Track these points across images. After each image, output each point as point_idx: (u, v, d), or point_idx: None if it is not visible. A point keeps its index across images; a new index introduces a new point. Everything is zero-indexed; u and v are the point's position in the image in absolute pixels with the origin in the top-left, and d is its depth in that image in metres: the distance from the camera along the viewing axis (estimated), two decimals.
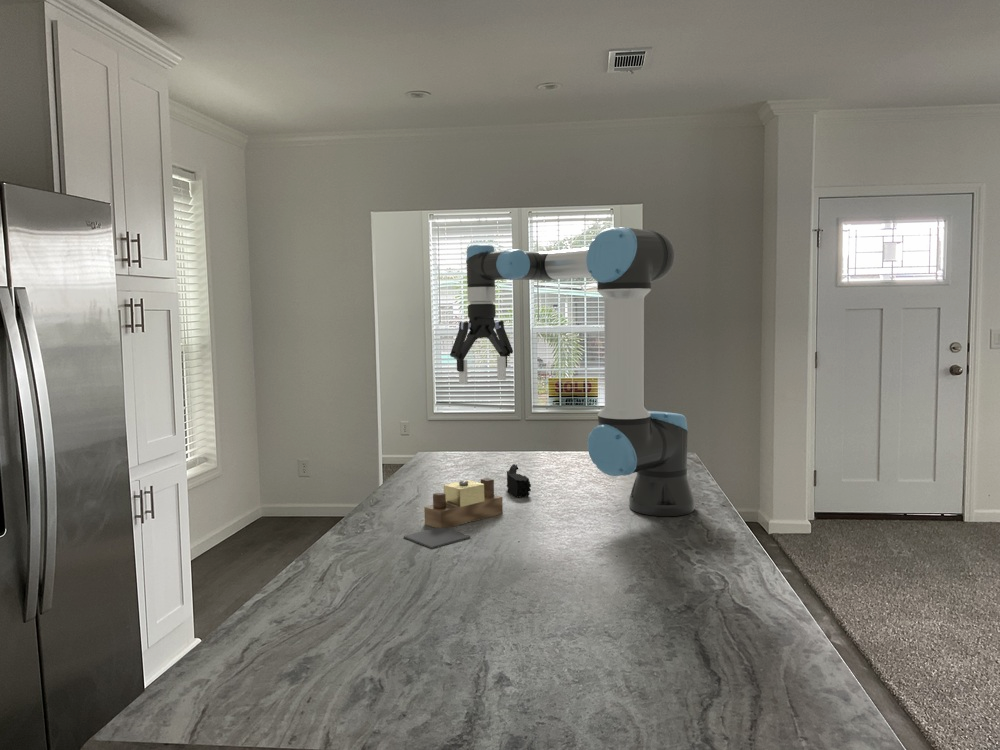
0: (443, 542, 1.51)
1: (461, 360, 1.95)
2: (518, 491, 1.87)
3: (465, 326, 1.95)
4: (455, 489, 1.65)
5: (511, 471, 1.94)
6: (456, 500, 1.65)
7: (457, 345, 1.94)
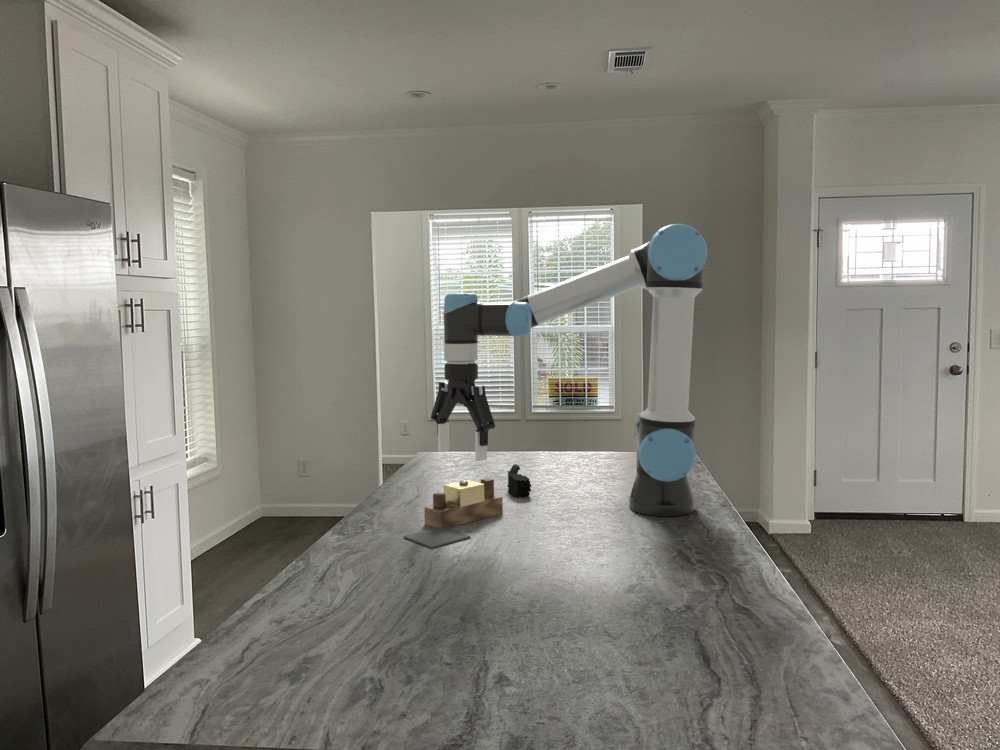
0: (443, 542, 1.51)
1: (438, 424, 1.73)
2: (518, 491, 1.87)
3: (439, 387, 1.71)
4: (455, 489, 1.65)
5: (512, 471, 1.94)
6: (456, 500, 1.65)
7: None
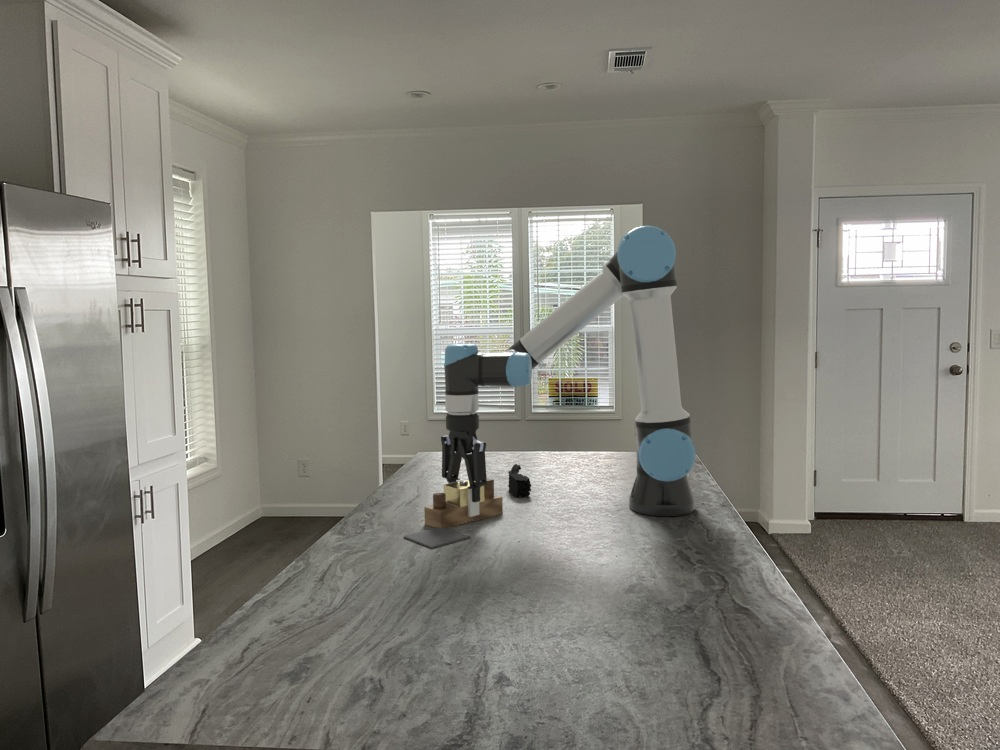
0: (443, 542, 1.51)
1: (449, 482, 1.72)
2: (518, 491, 1.87)
3: (442, 441, 1.72)
4: (455, 489, 1.65)
5: (513, 471, 1.94)
6: (456, 500, 1.65)
7: None
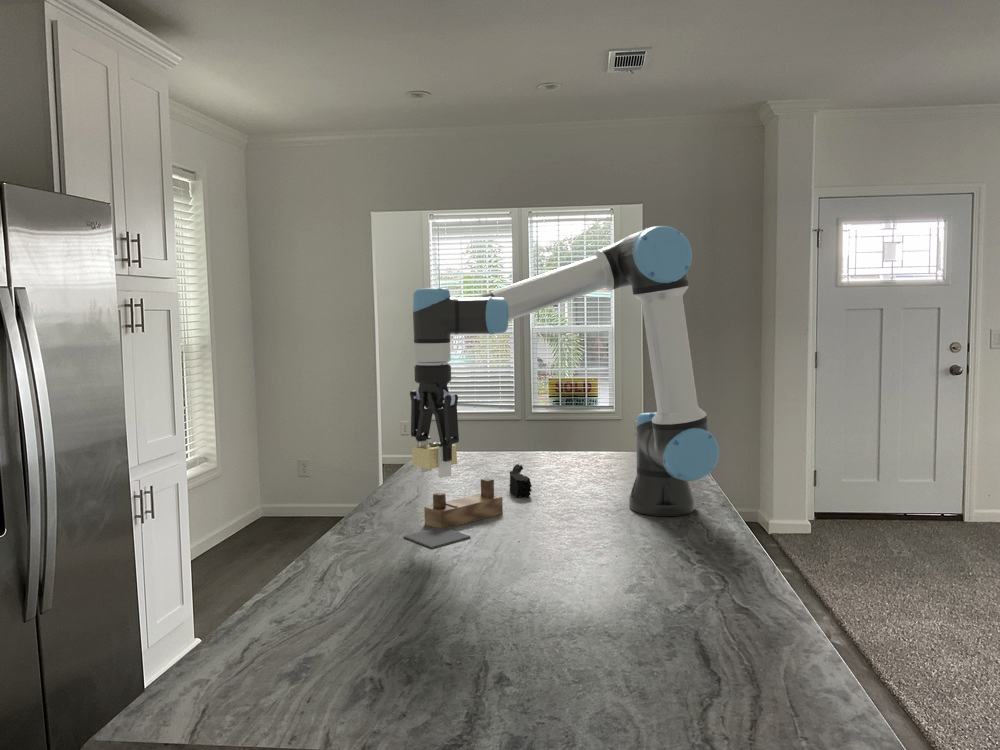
0: (443, 542, 1.51)
1: (419, 441, 1.57)
2: (518, 491, 1.87)
3: (411, 397, 1.57)
4: (424, 450, 1.51)
5: (514, 471, 1.94)
6: (425, 461, 1.51)
7: None
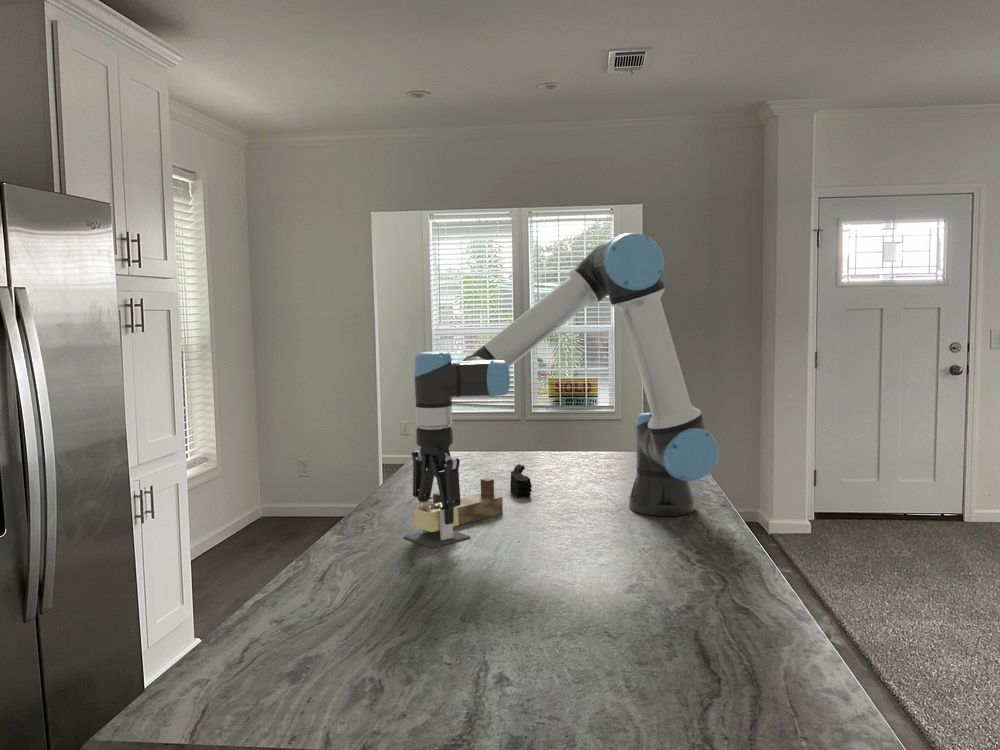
0: (443, 542, 1.51)
1: (421, 502, 1.58)
2: (519, 491, 1.87)
3: (413, 457, 1.58)
4: (426, 513, 1.52)
5: (515, 471, 1.94)
6: (427, 524, 1.52)
7: None
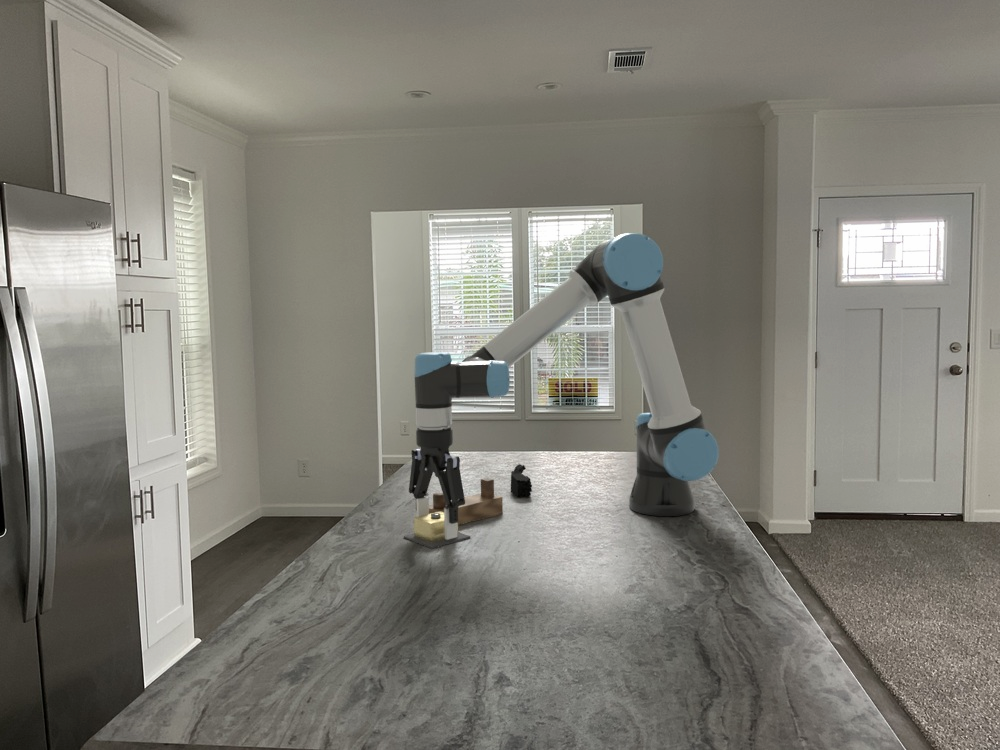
0: (443, 542, 1.51)
1: (416, 498, 1.59)
2: (519, 491, 1.87)
3: (412, 455, 1.58)
4: (426, 523, 1.52)
5: (515, 471, 1.94)
6: (427, 534, 1.52)
7: None
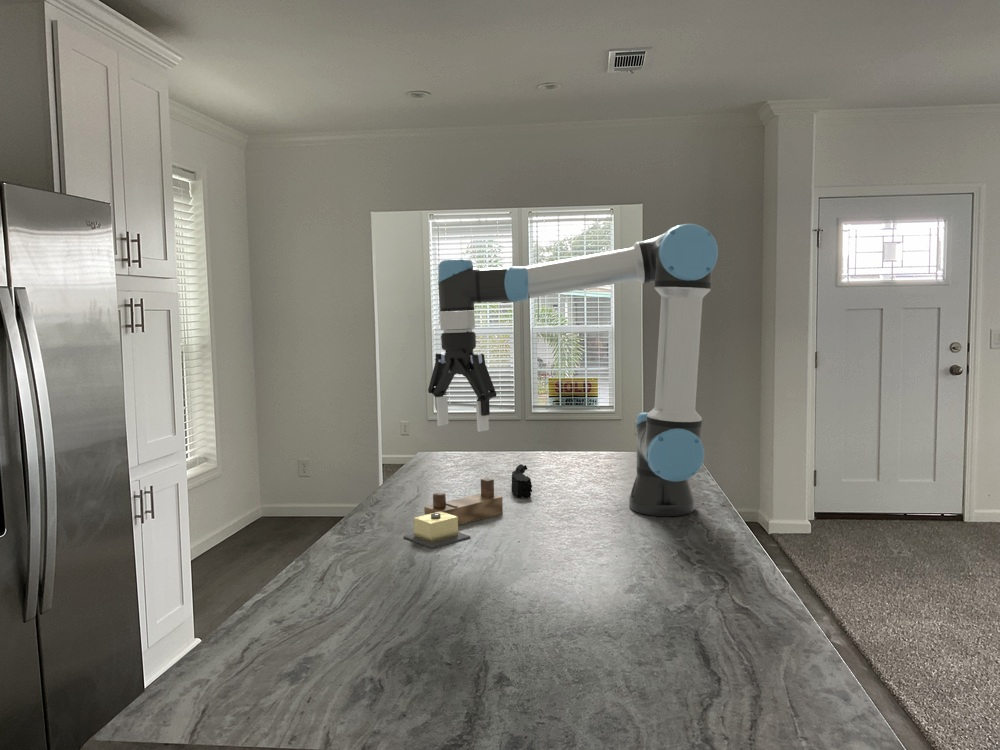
0: (443, 542, 1.51)
1: (436, 397, 1.68)
2: (519, 491, 1.87)
3: (436, 358, 1.66)
4: (426, 523, 1.52)
5: (516, 471, 1.94)
6: (427, 534, 1.52)
7: None
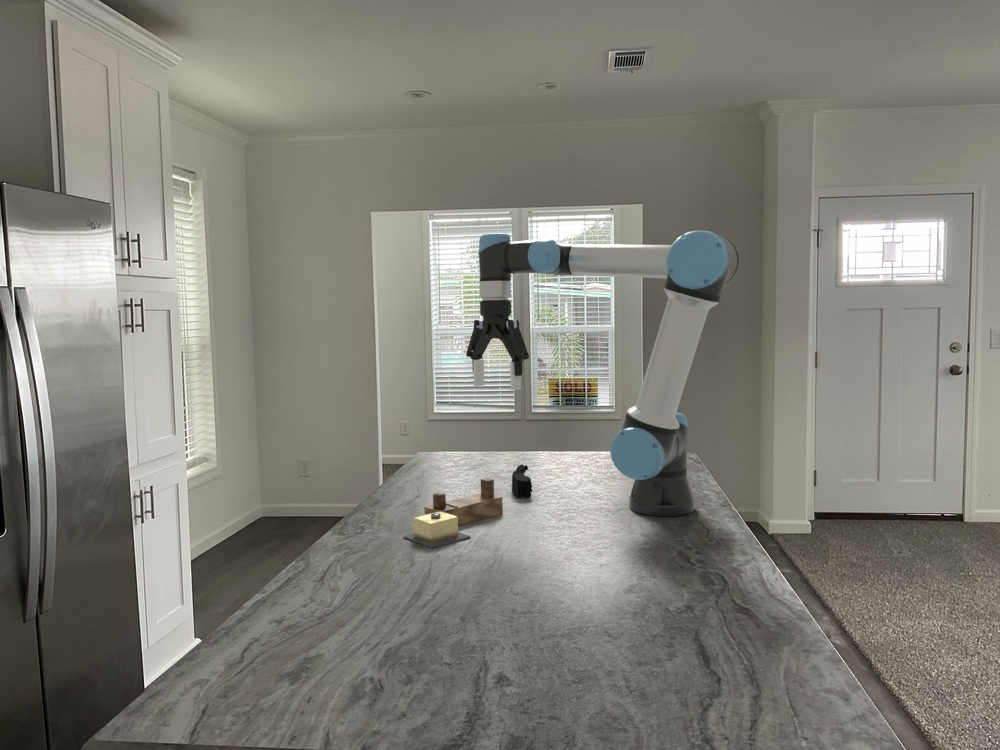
0: (443, 542, 1.51)
1: None
2: (519, 491, 1.87)
3: (474, 324, 1.82)
4: (426, 523, 1.52)
5: (517, 471, 1.94)
6: (427, 534, 1.52)
7: None
